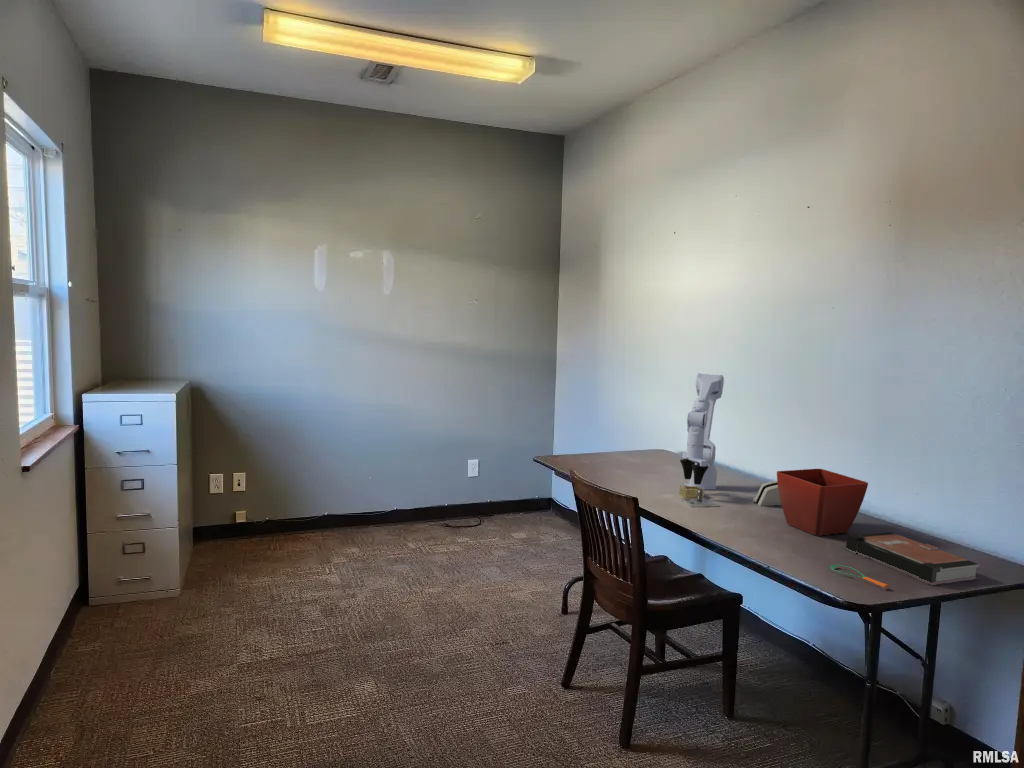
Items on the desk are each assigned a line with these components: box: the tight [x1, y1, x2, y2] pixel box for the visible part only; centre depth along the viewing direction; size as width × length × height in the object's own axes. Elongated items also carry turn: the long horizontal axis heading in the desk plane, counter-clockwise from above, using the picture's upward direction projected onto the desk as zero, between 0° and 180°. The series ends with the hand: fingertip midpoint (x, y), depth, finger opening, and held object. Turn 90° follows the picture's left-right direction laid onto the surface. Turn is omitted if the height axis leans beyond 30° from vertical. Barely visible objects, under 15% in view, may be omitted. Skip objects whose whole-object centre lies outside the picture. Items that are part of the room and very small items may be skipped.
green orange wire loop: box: [829, 564, 890, 588], centre depth 169 cm, size 15×6×2 cm, turn 26°
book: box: [845, 531, 980, 583], centre depth 182 cm, size 26×18×5 cm
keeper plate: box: [681, 489, 719, 508], centre depth 233 cm, size 10×7×5 cm
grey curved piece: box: [752, 480, 782, 507], centre depth 237 cm, size 17×5×10 cm, turn 102°
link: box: [679, 485, 705, 498], centre depth 243 cm, size 7×5×3 cm
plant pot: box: [776, 468, 869, 537], centre depth 209 cm, size 19×19×17 cm
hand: (692, 481), depth 243 cm, fingers open, 7 cm apart
